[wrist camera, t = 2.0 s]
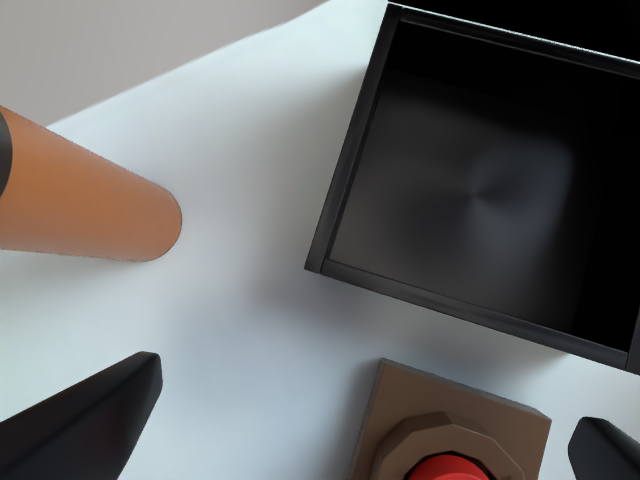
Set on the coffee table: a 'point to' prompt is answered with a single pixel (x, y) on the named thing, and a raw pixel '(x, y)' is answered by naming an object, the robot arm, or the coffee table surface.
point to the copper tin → (77, 199)
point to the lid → (554, 20)
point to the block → (444, 428)
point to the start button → (447, 469)
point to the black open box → (493, 185)
